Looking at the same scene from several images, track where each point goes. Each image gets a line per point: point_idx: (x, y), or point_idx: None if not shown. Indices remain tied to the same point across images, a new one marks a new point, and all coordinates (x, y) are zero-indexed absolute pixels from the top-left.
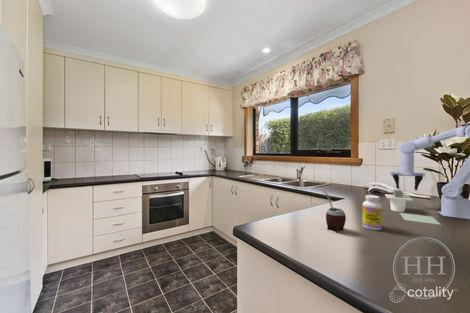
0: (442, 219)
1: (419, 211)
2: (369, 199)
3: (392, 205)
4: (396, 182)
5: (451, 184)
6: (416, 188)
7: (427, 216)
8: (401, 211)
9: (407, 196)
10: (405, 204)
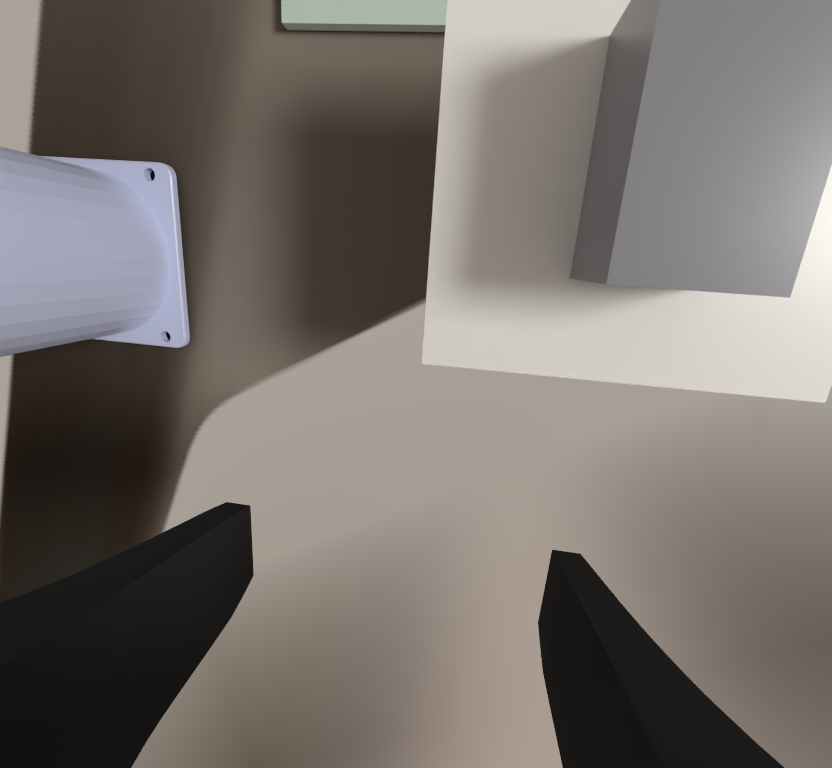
0: (205, 12)
1: (341, 312)
2: None
3: None
4: (700, 697)
5: None
6: (212, 519)
7: (326, 5)
8: None
9: (453, 280)
10: None
